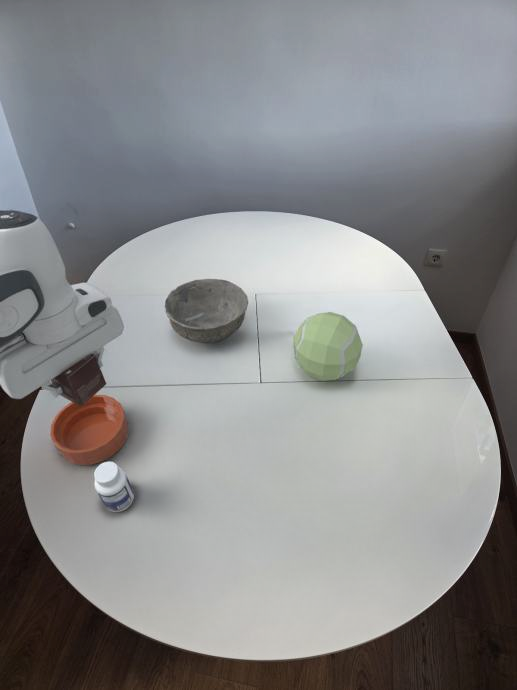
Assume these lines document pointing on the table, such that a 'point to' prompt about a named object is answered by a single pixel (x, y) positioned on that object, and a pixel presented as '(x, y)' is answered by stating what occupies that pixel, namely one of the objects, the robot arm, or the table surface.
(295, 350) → the green ball
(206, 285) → the bowl
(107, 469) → the pill bottle
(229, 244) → the table surface
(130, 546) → the table surface
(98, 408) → the clay bowl
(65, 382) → the box
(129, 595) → the table surface
